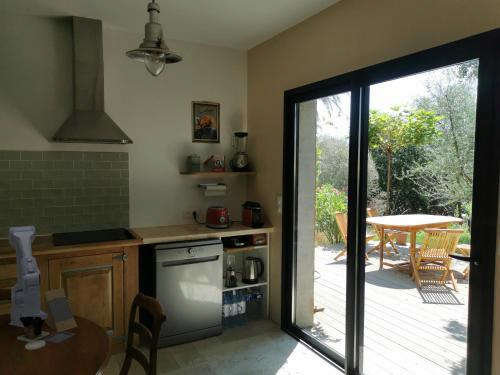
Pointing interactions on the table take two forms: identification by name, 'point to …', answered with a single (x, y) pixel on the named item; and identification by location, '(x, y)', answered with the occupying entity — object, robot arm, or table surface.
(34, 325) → the robot arm
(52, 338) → the grey square tile
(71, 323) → the sandwich container
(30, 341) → the pale green square tile
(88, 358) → the table surface
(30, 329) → the walnut cube
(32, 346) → the coaster
